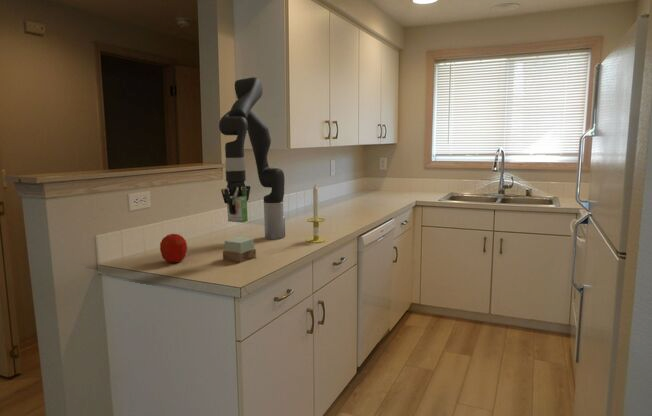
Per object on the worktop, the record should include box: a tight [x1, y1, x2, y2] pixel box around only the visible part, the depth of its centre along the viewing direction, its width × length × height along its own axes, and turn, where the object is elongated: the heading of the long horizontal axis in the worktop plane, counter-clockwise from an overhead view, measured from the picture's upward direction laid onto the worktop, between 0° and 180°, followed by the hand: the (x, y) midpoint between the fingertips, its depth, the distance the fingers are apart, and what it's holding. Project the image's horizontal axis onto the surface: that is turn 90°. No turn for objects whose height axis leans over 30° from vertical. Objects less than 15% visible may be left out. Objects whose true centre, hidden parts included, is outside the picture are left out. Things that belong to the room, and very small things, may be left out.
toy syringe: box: [305, 183, 328, 244], centre depth 212 cm, size 10×10×27 cm
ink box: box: [226, 187, 249, 223], centre depth 179 cm, size 7×4×13 cm, turn 63°
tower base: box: [222, 248, 257, 264], centre depth 182 cm, size 9×9×4 cm
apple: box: [159, 233, 188, 264], centre depth 179 cm, size 10×10×12 cm
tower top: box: [224, 236, 255, 253], centre depth 182 cm, size 8×8×4 cm
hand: (237, 213), depth 180 cm, fingers closed on ink box, 4 cm apart
